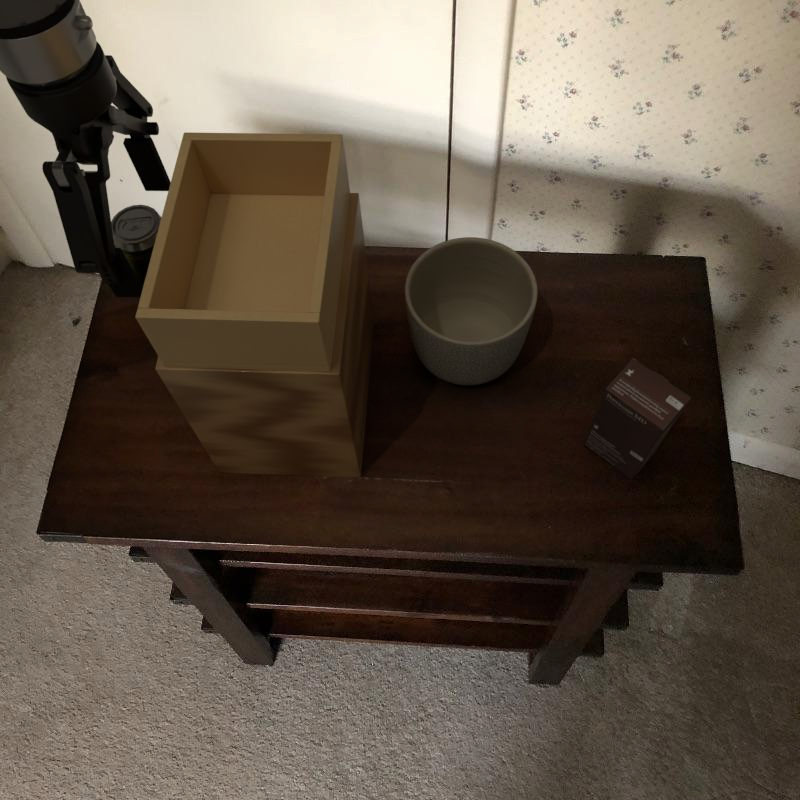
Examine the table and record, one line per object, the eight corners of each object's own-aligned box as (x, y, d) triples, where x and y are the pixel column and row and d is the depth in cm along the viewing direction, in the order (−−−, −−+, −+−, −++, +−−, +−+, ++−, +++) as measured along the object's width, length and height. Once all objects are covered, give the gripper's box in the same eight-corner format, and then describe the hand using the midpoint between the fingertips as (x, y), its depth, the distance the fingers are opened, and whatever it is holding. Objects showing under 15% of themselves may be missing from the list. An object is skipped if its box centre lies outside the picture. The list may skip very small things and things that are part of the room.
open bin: (164, 367, 58) (134, 317, 52) (205, 191, 66) (183, 131, 60) (330, 372, 57) (318, 322, 51) (350, 194, 65) (342, 133, 59)
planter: (519, 408, 77) (532, 351, 68) (399, 393, 79) (395, 336, 69) (529, 308, 83) (542, 243, 74) (416, 296, 84) (415, 230, 75)
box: (579, 446, 75) (603, 387, 65) (606, 416, 77) (635, 353, 66) (630, 485, 73) (664, 430, 62) (657, 453, 75) (695, 394, 64)
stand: (219, 472, 75) (154, 369, 58) (246, 320, 84) (197, 189, 66) (360, 478, 74) (339, 374, 57) (373, 324, 83) (358, 192, 65)
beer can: (192, 272, 87) (159, 198, 77) (198, 310, 85) (164, 238, 74) (145, 282, 87) (105, 209, 76) (149, 320, 84) (109, 250, 74)
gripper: (55, 179, 52) (156, 344, 71) (134, -44, 64) (203, 149, 83) (-50, 178, 53) (78, 342, 72) (47, -43, 65) (135, 148, 83)
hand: (145, 239), depth 77 cm, fingers open, 13 cm apart
